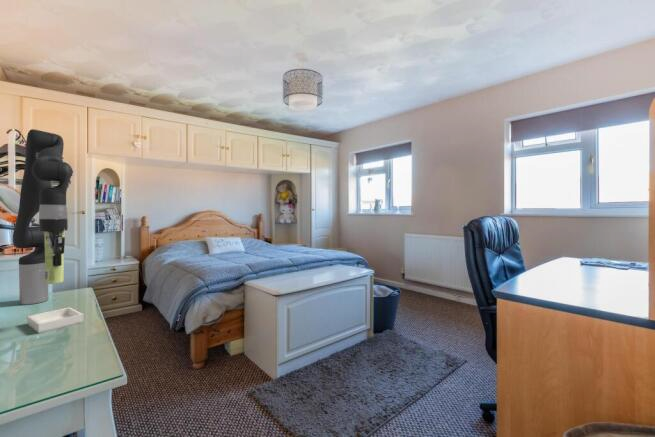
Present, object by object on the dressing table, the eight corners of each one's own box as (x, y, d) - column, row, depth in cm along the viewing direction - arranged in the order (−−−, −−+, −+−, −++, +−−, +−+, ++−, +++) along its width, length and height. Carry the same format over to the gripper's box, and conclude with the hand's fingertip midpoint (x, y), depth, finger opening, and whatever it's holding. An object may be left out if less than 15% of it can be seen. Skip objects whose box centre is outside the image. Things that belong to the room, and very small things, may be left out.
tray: (27, 324, 108) (27, 316, 108) (70, 314, 118) (69, 307, 117) (38, 333, 100) (38, 324, 100) (83, 322, 110) (83, 314, 110)
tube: (66, 280, 112) (65, 227, 112) (65, 282, 108) (64, 228, 108) (45, 282, 109) (44, 228, 108) (44, 285, 105) (43, 228, 104)
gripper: (33, 217, 109) (34, 264, 109) (45, 218, 101) (46, 269, 101) (60, 217, 115) (61, 261, 115) (74, 217, 107) (74, 265, 107)
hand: (54, 264), depth 108 cm, fingers closed on tube, 5 cm apart
